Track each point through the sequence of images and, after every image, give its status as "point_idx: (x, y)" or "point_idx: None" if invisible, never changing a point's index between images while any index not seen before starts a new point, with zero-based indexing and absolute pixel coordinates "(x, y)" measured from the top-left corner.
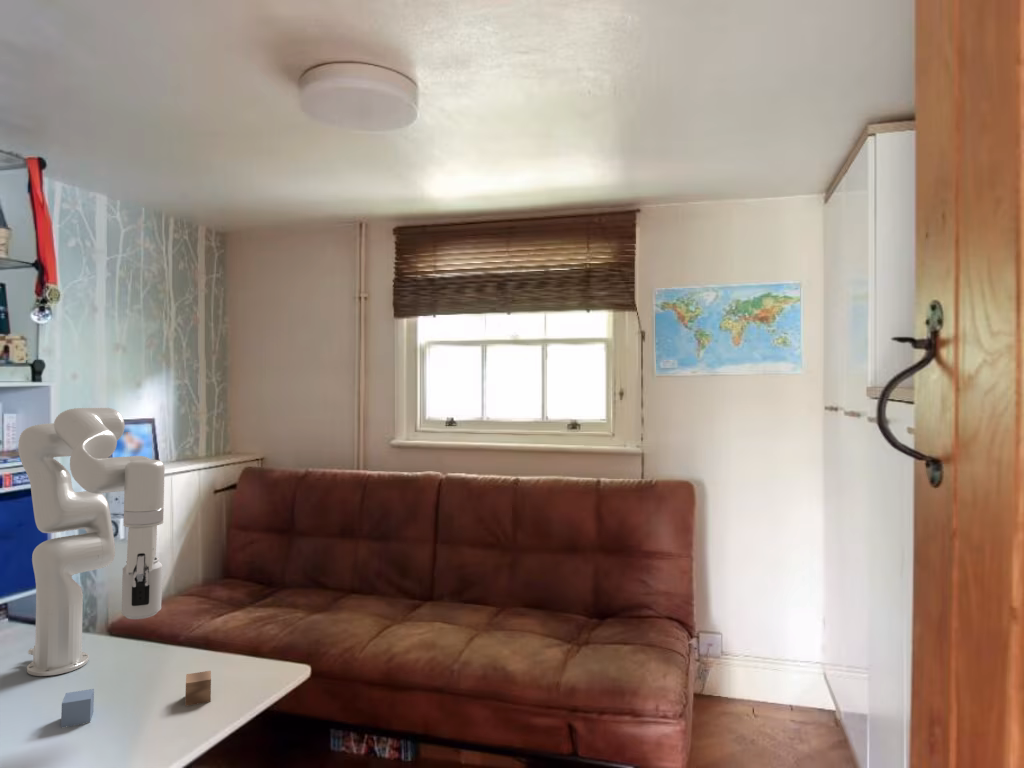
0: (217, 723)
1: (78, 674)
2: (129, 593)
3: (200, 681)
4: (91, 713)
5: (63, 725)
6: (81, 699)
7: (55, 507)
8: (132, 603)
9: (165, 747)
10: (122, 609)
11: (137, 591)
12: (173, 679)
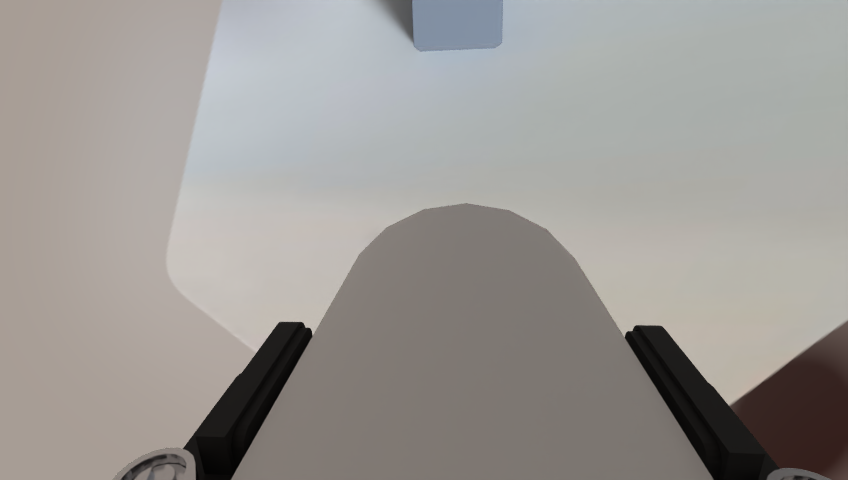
0: None
1: None
2: (304, 352)
3: None
4: (446, 49)
5: None
6: (420, 14)
7: None
8: (277, 333)
9: (219, 252)
10: (414, 224)
11: (191, 449)
12: (632, 255)
